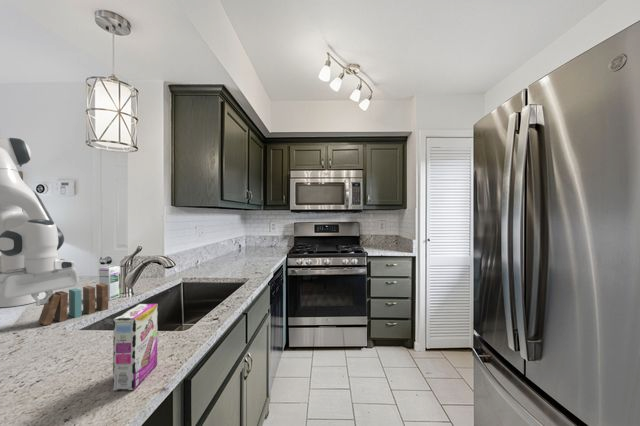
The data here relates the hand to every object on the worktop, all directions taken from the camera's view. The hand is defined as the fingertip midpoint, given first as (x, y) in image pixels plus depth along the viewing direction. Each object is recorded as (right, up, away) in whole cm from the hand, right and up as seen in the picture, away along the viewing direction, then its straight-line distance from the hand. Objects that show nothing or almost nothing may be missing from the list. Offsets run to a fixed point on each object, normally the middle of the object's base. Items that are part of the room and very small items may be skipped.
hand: (42, 304), depth 102 cm
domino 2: (+2, -7, +4) cm, 9 cm away
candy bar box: (+54, -8, -32) cm, 63 cm away
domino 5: (+9, -7, +16) cm, 20 cm away
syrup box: (+2, -7, +30) cm, 31 cm away
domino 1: (0, -7, 0) cm, 7 cm away
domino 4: (+7, -7, +12) cm, 16 cm away
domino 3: (+5, -7, +8) cm, 12 cm away
